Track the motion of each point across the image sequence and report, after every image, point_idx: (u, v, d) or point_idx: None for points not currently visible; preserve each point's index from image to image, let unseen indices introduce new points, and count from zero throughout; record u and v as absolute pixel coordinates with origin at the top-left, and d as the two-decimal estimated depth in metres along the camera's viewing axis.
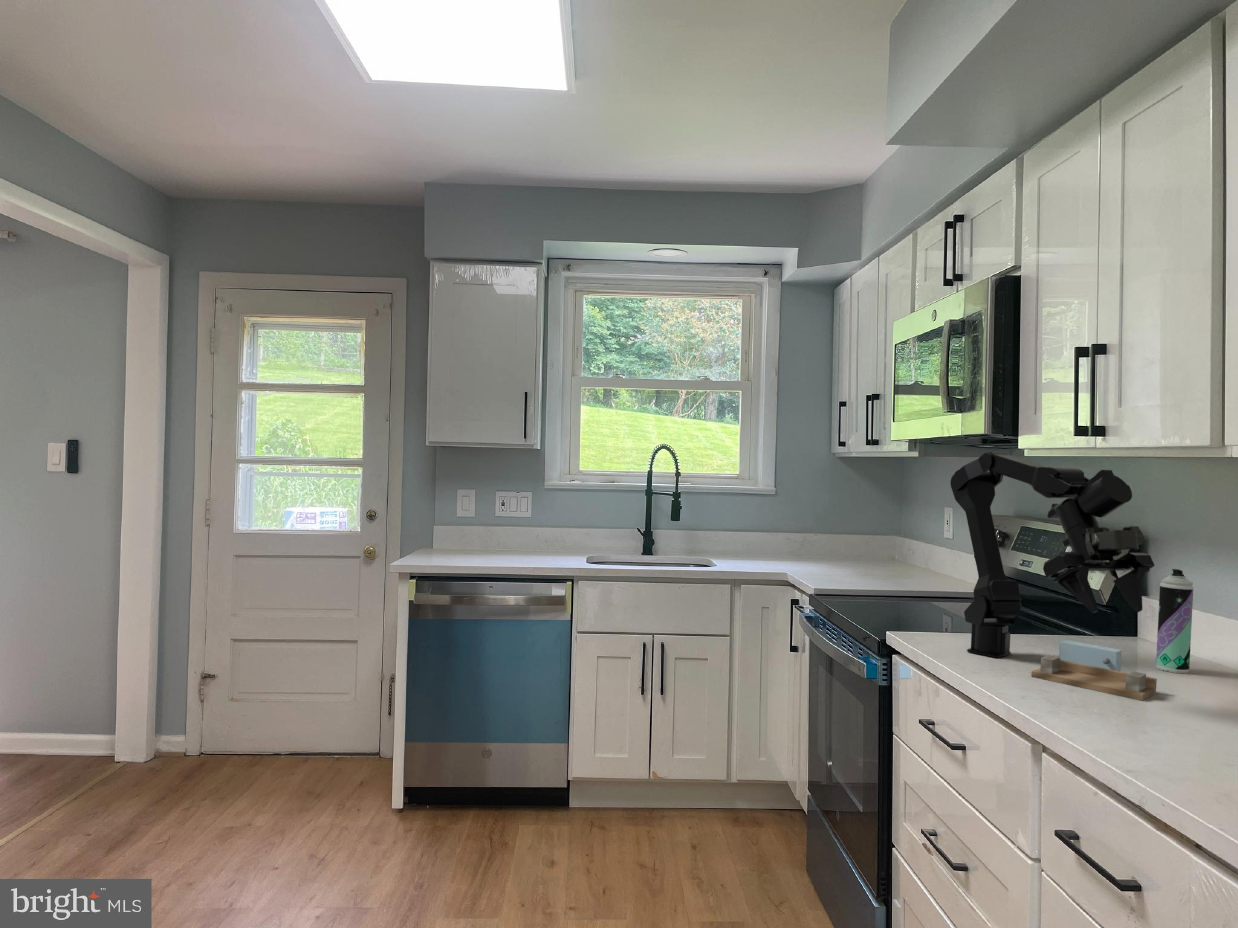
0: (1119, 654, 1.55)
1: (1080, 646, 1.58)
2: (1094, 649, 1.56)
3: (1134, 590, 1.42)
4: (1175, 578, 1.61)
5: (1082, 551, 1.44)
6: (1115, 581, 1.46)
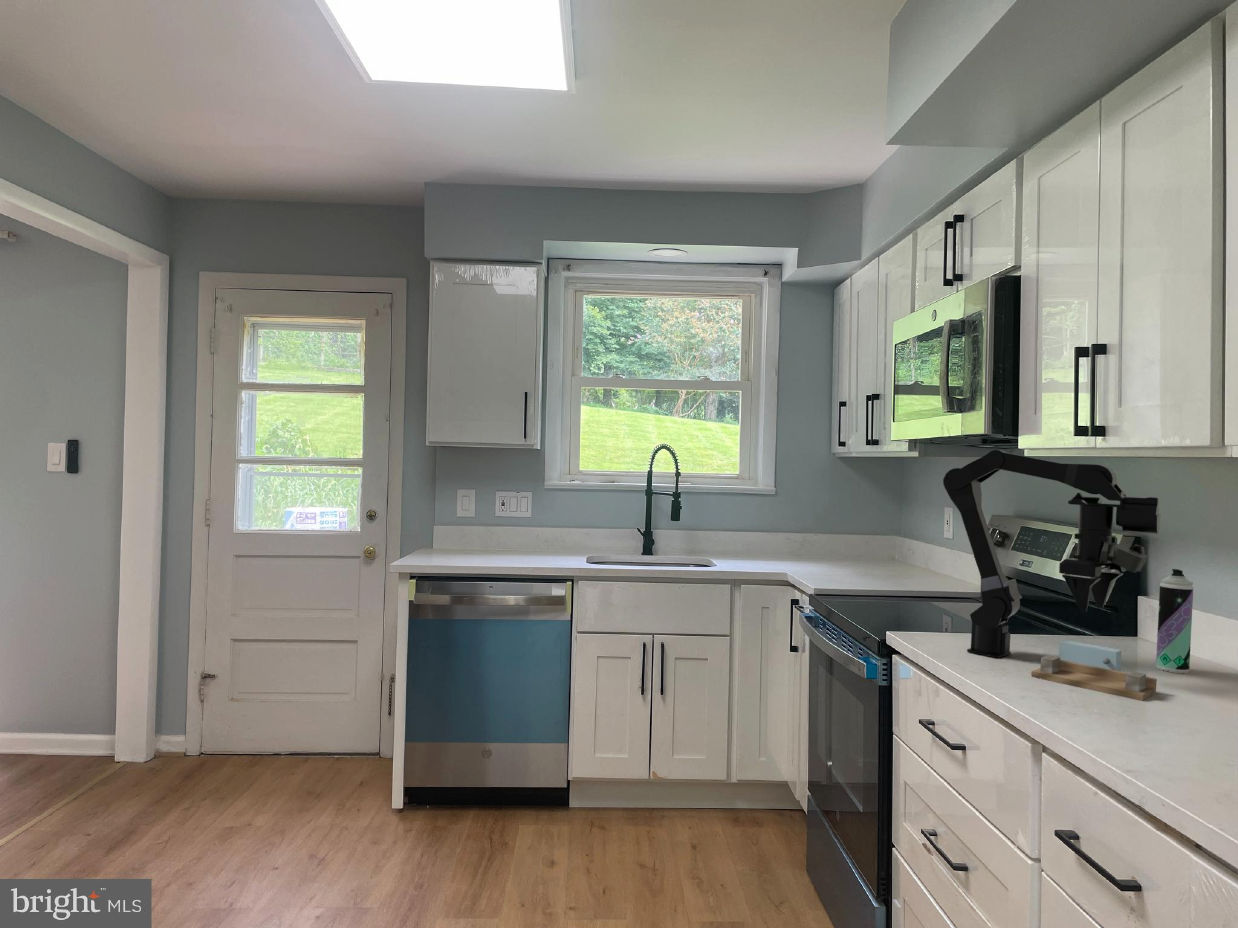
0: (1119, 654, 1.55)
1: (1080, 646, 1.58)
2: (1094, 649, 1.57)
3: (1105, 589, 1.61)
4: (1175, 578, 1.61)
5: (1093, 554, 1.56)
6: None
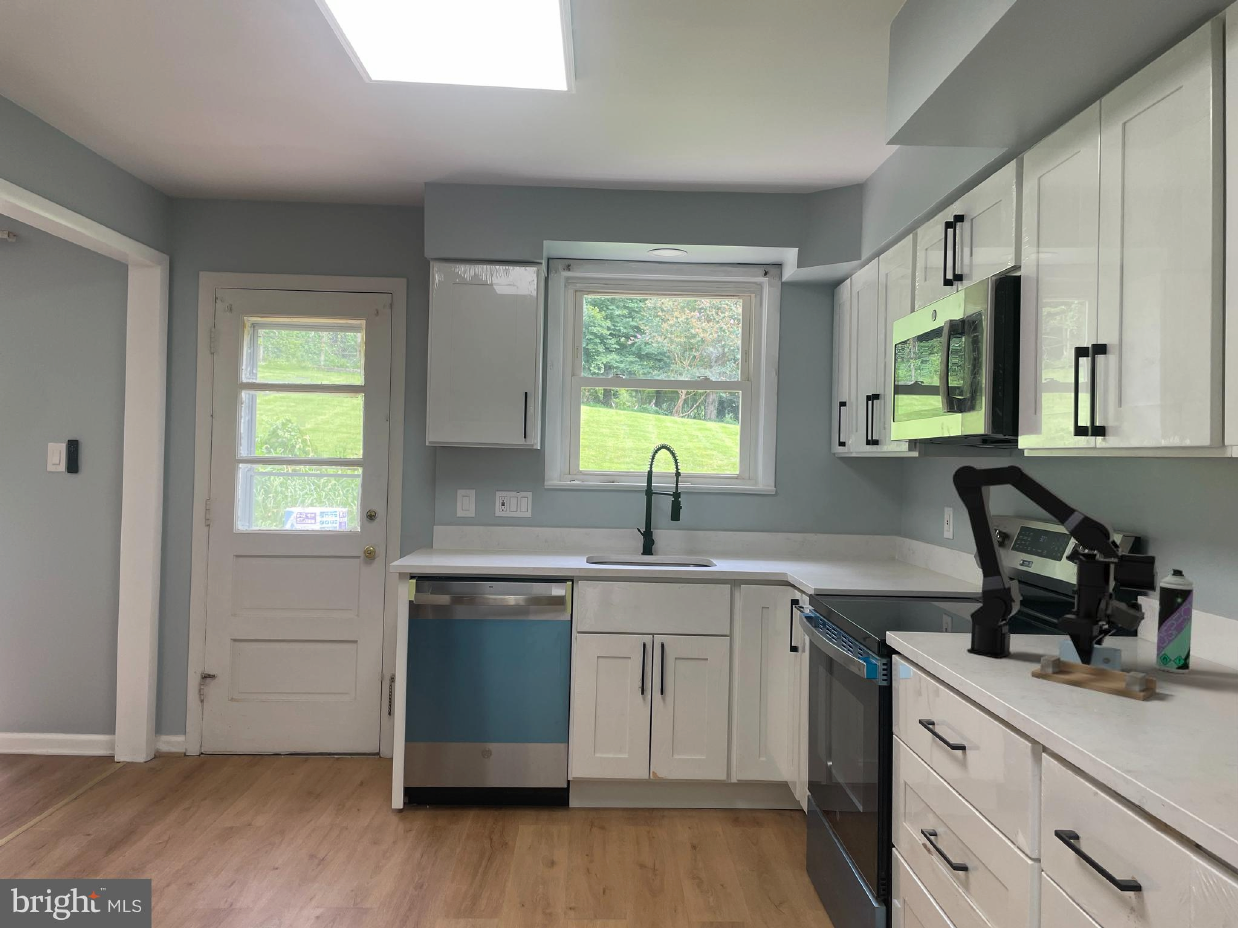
0: (1119, 653, 1.55)
1: None
2: (1094, 648, 1.56)
3: None
4: (1175, 578, 1.61)
5: (1090, 611, 1.56)
6: None
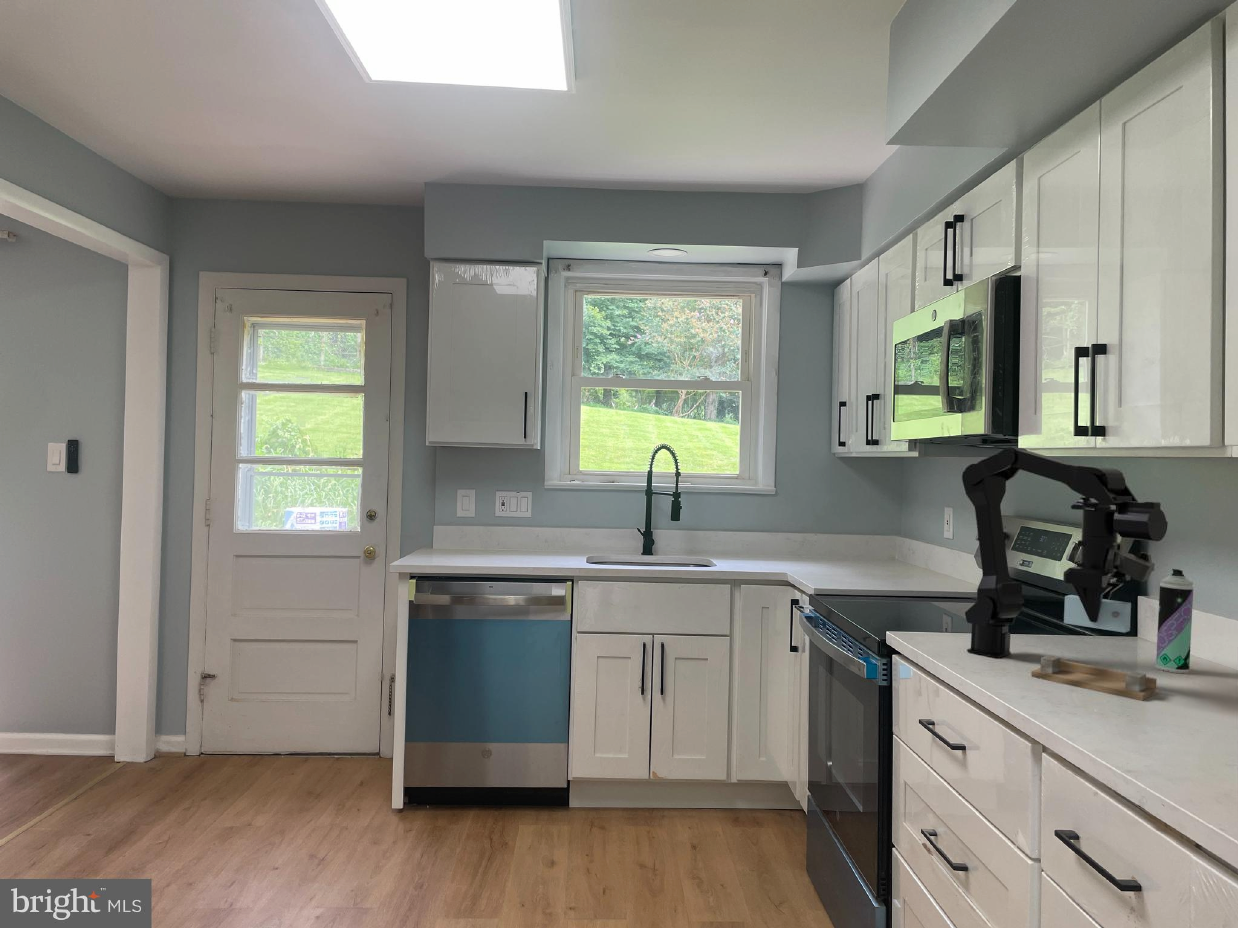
0: (1128, 607, 1.46)
1: None
2: (1102, 602, 1.48)
3: None
4: (1175, 578, 1.61)
5: (1097, 562, 1.47)
6: None
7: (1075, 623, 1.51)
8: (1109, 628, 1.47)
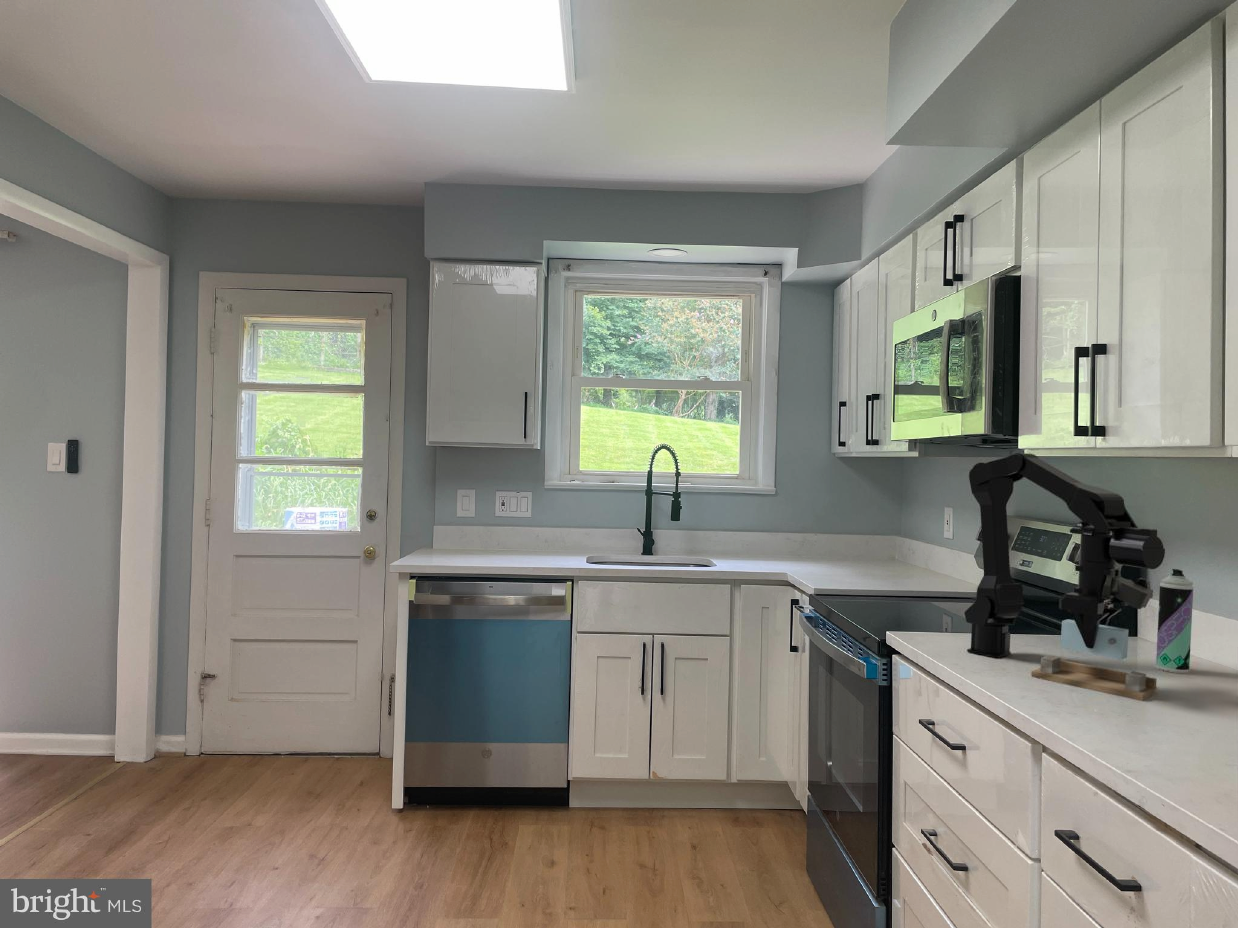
0: (1126, 634, 1.45)
1: None
2: (1099, 628, 1.46)
3: None
4: (1175, 578, 1.61)
5: (1095, 588, 1.46)
6: None
7: (1072, 648, 1.49)
8: (1106, 655, 1.45)
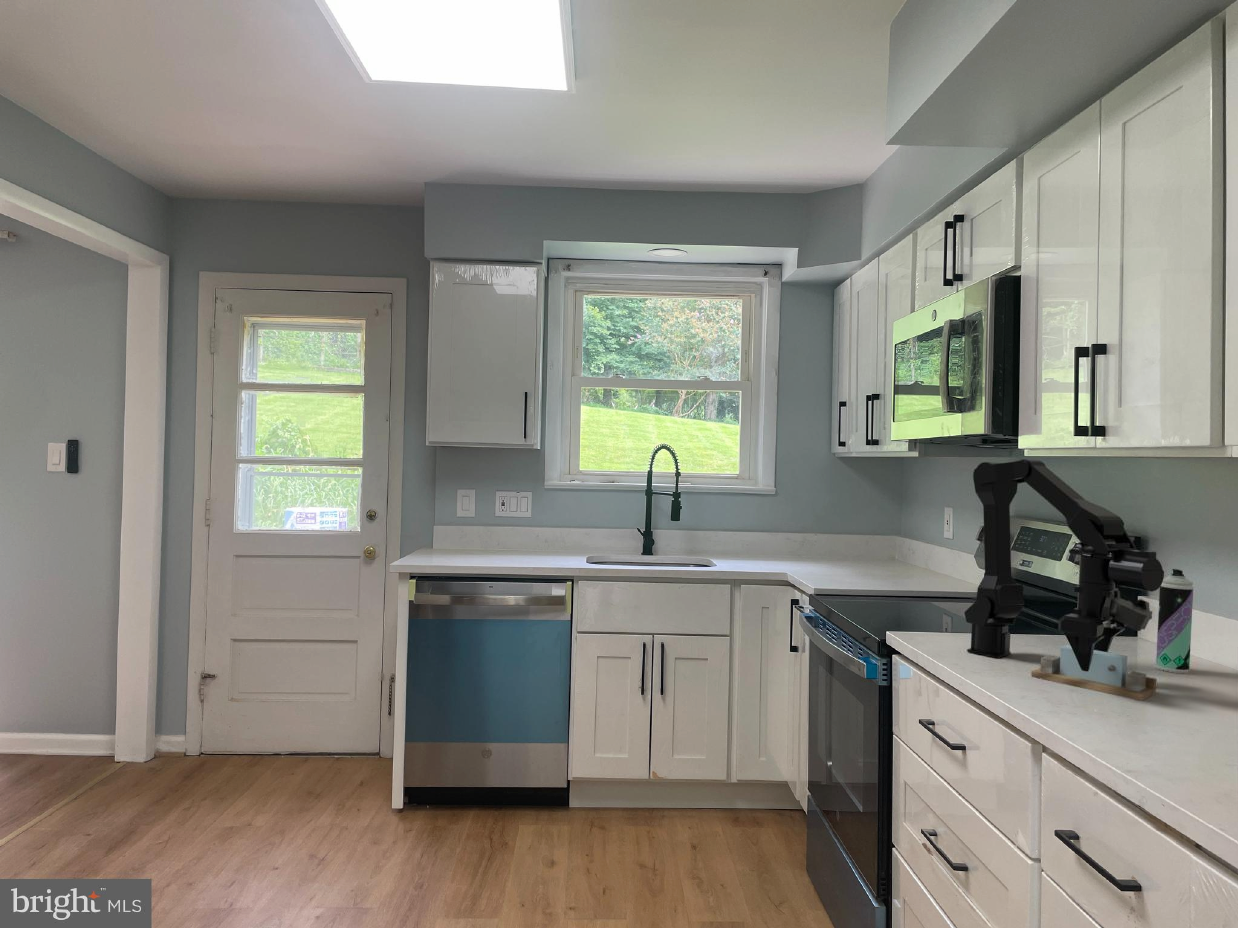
0: (1125, 660, 1.45)
1: None
2: (1098, 655, 1.46)
3: (1105, 646, 1.50)
4: (1175, 578, 1.61)
5: (1094, 610, 1.46)
6: None
7: (1071, 675, 1.49)
8: (1105, 681, 1.45)
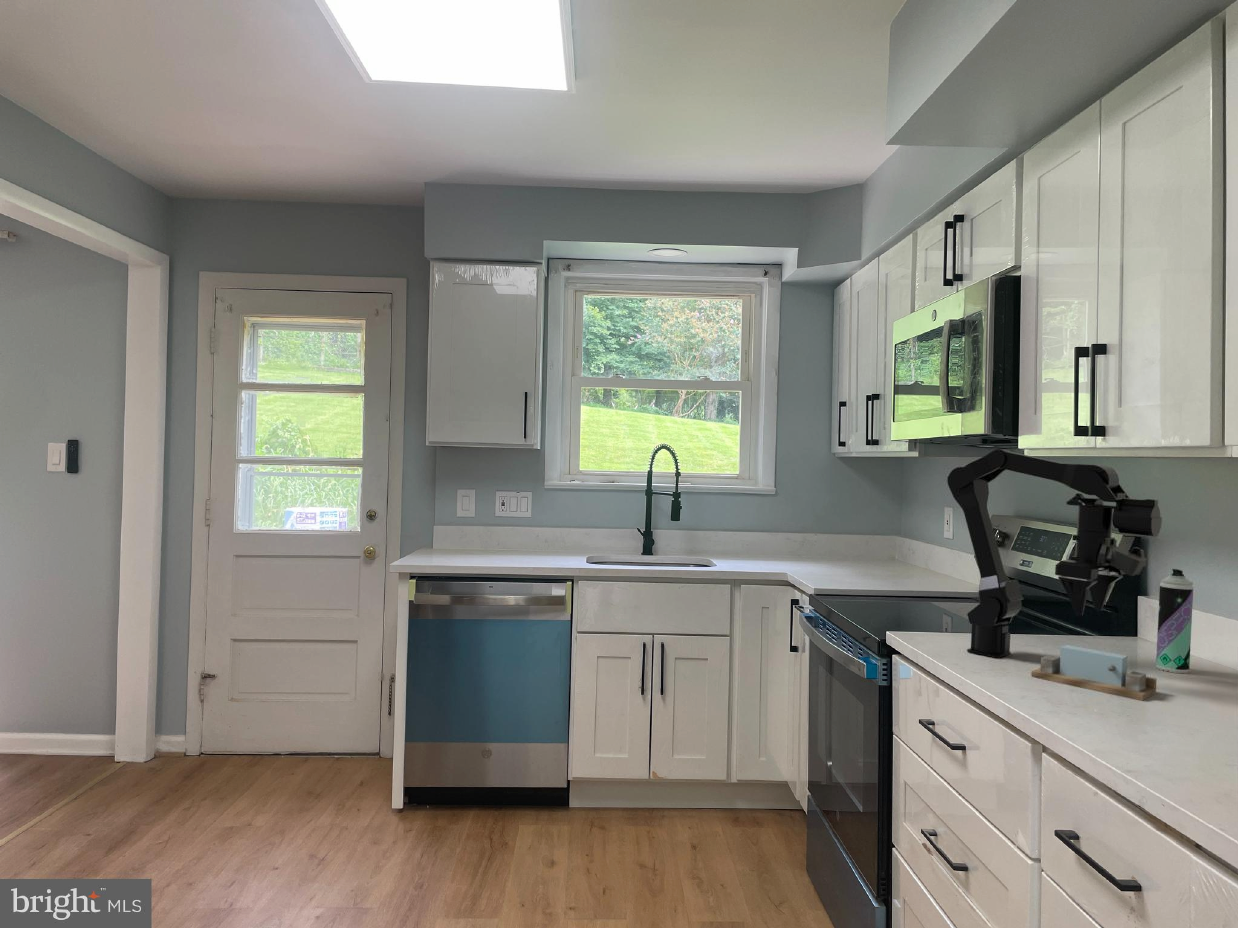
0: (1125, 660, 1.45)
1: (1083, 652, 1.48)
2: (1098, 655, 1.46)
3: (1103, 592, 1.58)
4: (1175, 578, 1.61)
5: (1090, 556, 1.53)
6: None
7: (1071, 675, 1.49)
8: (1105, 681, 1.45)
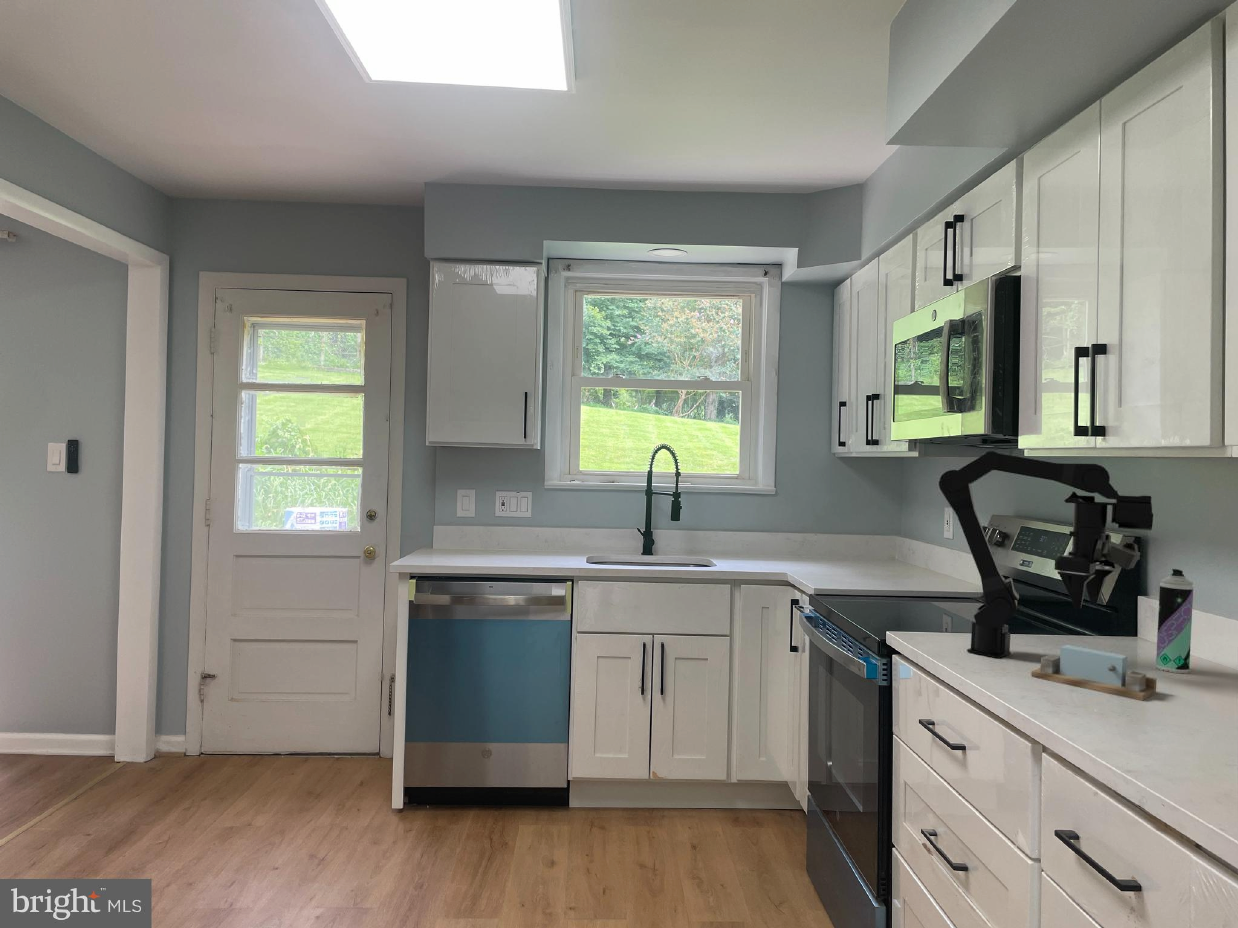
0: (1125, 660, 1.45)
1: (1083, 652, 1.48)
2: (1098, 655, 1.46)
3: (1099, 586, 1.65)
4: (1175, 578, 1.61)
5: (1087, 551, 1.59)
6: None
7: (1071, 675, 1.49)
8: (1105, 681, 1.45)
